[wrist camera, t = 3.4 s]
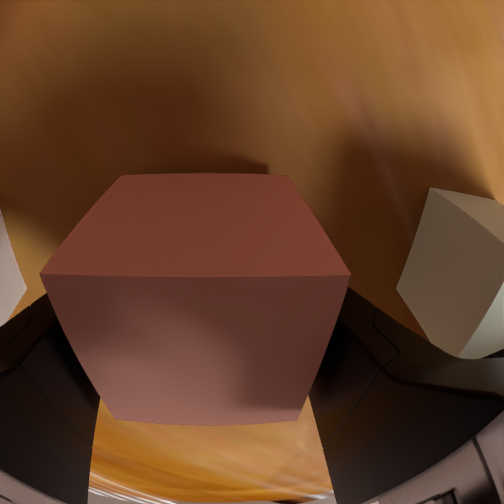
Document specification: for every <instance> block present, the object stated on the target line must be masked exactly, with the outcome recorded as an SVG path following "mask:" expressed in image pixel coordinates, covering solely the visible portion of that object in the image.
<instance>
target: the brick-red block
mask: <svg viewBox="0 0 504 504" xmlns="http://www.w3.org/2000/svg"><path fill="white" fill-rule="evenodd" d="M40 276H41V279H42V282H43V284H44V287H45V289H46V292H47V294H48V297H49V299H50V302H51V304H52V306H53V309H54V311H55V313H56V316H57V318H58V320H59V322H60V324H61V326H62V329H63V331H64V333H65V335H66V337H67V339H68V341H69V343H70V345H71V347H72V349H73V350H74V352H75V354H76V356H77V358H78V360H79V362H80V363H81V365H82V367H83V369H84V371H85V372H86V374H87V376H88V377H89V379H90V381H91V382H92V384H93V386H94V387H95V389H96V391H97V392H98V394H99V395H100V397H101V398H102V400H103V402H104V403H105V405H106V406H107V408H108V409H109V411H110V412H111V413H112V415H113V416H114V418H115V419H117V420H125V421H134V422H144V423H156V424H171V425H206V426H211V425H247V424H262V423H274V422H284V421H293V420H297V418H298V416H299V414H300V412H301V409H302V407H303V405H304V403H305V400H306V398H307V396H308V393H309V391H310V389H311V386H312V384H313V381H314V379H315V377H316V374H317V372H318V369H319V367H320V364H321V362H322V359H323V356H324V354H325V351H326V349H327V346H328V343H329V340H330V338H331V335H332V332H333V329H334V327H335V324H336V321H337V318H338V315H339V312H340V309H341V306H342V303H343V300H344V297H345V294H346V291H347V288H348V284H349V281H350V278H351V273H350V272H349V270H348V268H347V267H346V265H345V263H344V262H343V260H342V259H341V257H340V255H339V254H338V252H337V250H336V249H335V247H334V246H333V244H332V242H331V241H330V239H329V238H328V236H327V235H326V233H325V231H324V230H323V228H322V227H321V225H320V224H319V222H318V221H317V219H316V218H315V216H314V215H313V213H312V212H311V210H310V209H309V207H308V206H307V204H306V203H305V201H304V200H303V198H302V197H301V195H300V194H299V192H298V191H297V189H296V188H295V186H294V185H293V184H292V182H291V181H290V179H289V178H288V176H287V175H272V174H244V173H164V174H137V175H121V176H120V177H119V178H118V179H117V180H116V181H115V182H114V183H113V184H112V185H111V186H110V188H109V189H108V190H107V191H106V192H105V193H104V194H103V195H102V196H101V197H100V198H99V200H98V201H97V202H96V203H95V204H94V205H93V206H92V207H91V209H90V210H89V211H88V212H87V213H86V214H85V215H84V217H83V218H82V219H81V220H80V221H79V223H78V224H77V225H76V226H75V227H74V229H73V230H72V231H71V232H70V234H69V235H68V236H67V237H66V239H65V240H64V241H63V243H62V244H61V245H60V246H59V248H58V249H57V250H56V252H55V253H54V254H53V256H52V257H51V258H50V260H49V261H48V262H47V264H46V265H45V267H44V268H43V269H42V271H41V272H40Z"/></svg>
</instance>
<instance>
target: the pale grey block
mask: <svg viewBox="0 0 504 504" xmlns="http://www.w3.org/2000/svg"><path fill="white" fill-rule="evenodd" d="M26 290H27V287H26V285H25V282H24V280H23V277H22V274H21V272H20V269H19V267H18V264H17V261H16V258H15V255H14V253H13V250H12V247H11V244H10V240H9V237H8V234H7V231H6V227H5V224H4V220H3V216H2V213H1V209H0V326H2V325H3V324H5V323H6V322H7V321H8V319H9V317H10V316H11V314H12V312H13V311H14V309H15V307H16V306H17V304H18V302H19V301H20V299H21V298H22V296H23V295H24V293H25V292H26Z"/></svg>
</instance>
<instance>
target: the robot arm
mask: <svg viewBox="0 0 504 504" xmlns="http://www.w3.org/2000/svg"><path fill="white" fill-rule="evenodd" d="M308 395H309V399H310V402H311V406H312V410H313V413H314V417H315V421H316V425H317V428H318V432H319V436H320V440H321V443H322V447H323V448H324V449H323V452H324V455H325V459H326V463H327V467H328V471H329V475H330V479H331V483H332V486H333V490H334V494H335V498H336V502H337V504H370V503H373V502H376V501H379V504H504V349H502V350H499V351H497V352H495V353H492V354H490V355H488V356H485V357H483V358H480V359H463V358H459V357H455V356H453V355H450V354H448V353H447V352H445V351H443V350H442V349H440V348H438V347H437V346H435V345H434V344H432V343H430V342H429V341H427V340H426V339H424V338H422V337H421V336H419V335H417V334H416V333H414V332H413V331H411V330H410V329H408V328H406V327H405V326H403V325H402V324H400V323H399V322H397V321H396V320H394V319H393V318H391V317H390V316H389V315H387V314H386V313H384V312H383V311H382V310H380V309H379V308H377V307H376V308H375V305H373V304H372V303H371V302H369V301H368V300H366V299H365V298H364V297H362V296H361V295H359V294H358V293H357V292H355V291H354V290H352V289H351V288H350V287H348V288H347V291H346V294H345V297H344V300H343V303H342V306H341V309H340V312H339V315H338V318H337V321H336V324H335V327H334V329H333V332H332V335H331V338H330V340H329V343H328V346H327V349H326V351H325V354H324V356H323V359H322V362H321V364H320V367H319V369H318V372H317V374H316V377H315V379H314V381H313V384H312V386H311V389H310V391H309V393H308ZM99 402H100V395H99V394H98V392H97V391H96V389H95V387H94V386H93V384H92V382H91V381H90V379H89V377H88V376H87V374H86V372H85V371H84V369H83V367H82V365H81V363H80V362H79V360H78V358H77V356H76V354H75V352H74V350H73V349H72V347H71V345H70V343H69V341H68V339H67V337H66V335H65V333H64V331H63V329H62V326H61V324H60V322H59V320H58V318H57V316H56V313H55V311H54V309H53V306H52V304H51V302H50V299H49V297H48V294H47V293H46V294H44V295H43V296H42V297H40V298H39V299H37V300H36V301H35V302H33V303H32V304H31V305H30V306H28V307H26V308H25V309H24V310H23V311H21V312H20V313H19V314H17V315H16V316H14V317H13V318H12V319H10V320H9V321H8V322H6V323H5V324H3V325H2V326H0V504H57V503H60V504H87V502H88V486H89V475H90V465H91V456H92V446H93V439H94V432H95V426H96V419H97V413H98V408H99Z"/></svg>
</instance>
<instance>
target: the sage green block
mask: <svg viewBox="0 0 504 504" xmlns="http://www.w3.org/2000/svg"><path fill="white" fill-rule="evenodd" d="M396 290H397V292H398V293H399V295H400V296H401V297H402V299H403V300H404V302H405V303H406V305H407V306H408V308H409V309H410V311H411V312H412V314H413V315H414V317H415V318H416V320H417V321H418V323H419V325H420V326H421V328H422V329H423V331H424V332H425V334H426V336H427V337H428V339H429V340H430V342H431V343H432V344H434V345H435V346H437V347H438V348H440V349H442V350H443V351H445V352H447V353H448V354H450V355H453V356H455V357H459V358H463V359H480V358H483V357H485V356H488V355H490V354H492V353H495V352H497V351H499V350H502V349H504V206H503V205H502V204H501V203H499V202H498V201H496V200H493V199H488V198H484V197H479V196H474V195H469V194H464V193H459V192H454V191H448V190H443V189H437V188H431V187H430V188H429V192H428V196H427V199H426V203H425V206H424V210H423V213H422V216H421V220H420V223H419V226H418V229H417V232H416V235H415V238H414V241H413V244H412V247H411V250H410V253H409V256H408V258H407V261H406V264H405V266H404V269H403V272H402V274H401V277H400V279H399V282H398V284H397V287H396Z"/></svg>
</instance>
